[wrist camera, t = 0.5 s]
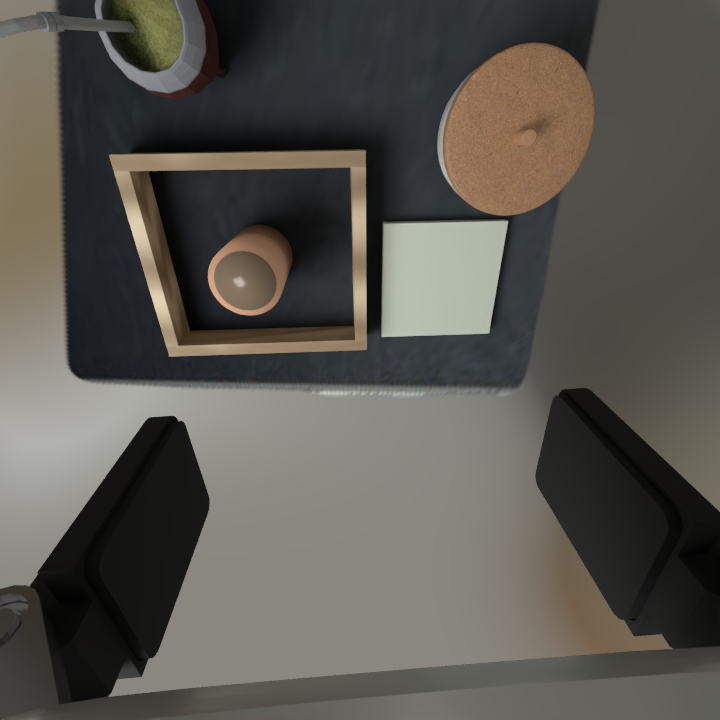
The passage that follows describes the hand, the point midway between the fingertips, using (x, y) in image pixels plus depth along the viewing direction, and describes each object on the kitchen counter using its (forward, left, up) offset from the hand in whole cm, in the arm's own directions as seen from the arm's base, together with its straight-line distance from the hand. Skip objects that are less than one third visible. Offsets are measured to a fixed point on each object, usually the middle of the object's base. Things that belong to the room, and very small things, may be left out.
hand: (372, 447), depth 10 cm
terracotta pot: (+3, -9, -32) cm, 33 cm away
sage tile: (+6, +9, -32) cm, 34 cm away
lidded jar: (-7, +12, -32) cm, 35 cm away
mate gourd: (-13, -13, -32) cm, 36 cm away
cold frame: (+3, -9, -32) cm, 33 cm away
